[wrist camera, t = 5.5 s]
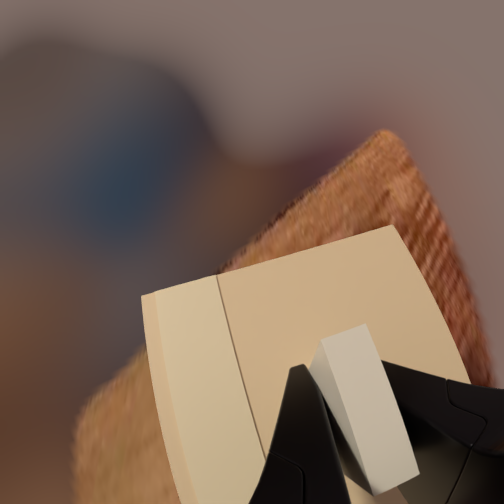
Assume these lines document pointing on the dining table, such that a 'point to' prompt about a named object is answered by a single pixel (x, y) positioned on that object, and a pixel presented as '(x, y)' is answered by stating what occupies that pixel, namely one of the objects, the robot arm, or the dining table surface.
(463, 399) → the robot arm
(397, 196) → the dining table surface
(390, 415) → the carton lid
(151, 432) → the dining table surface
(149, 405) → the dining table surface
